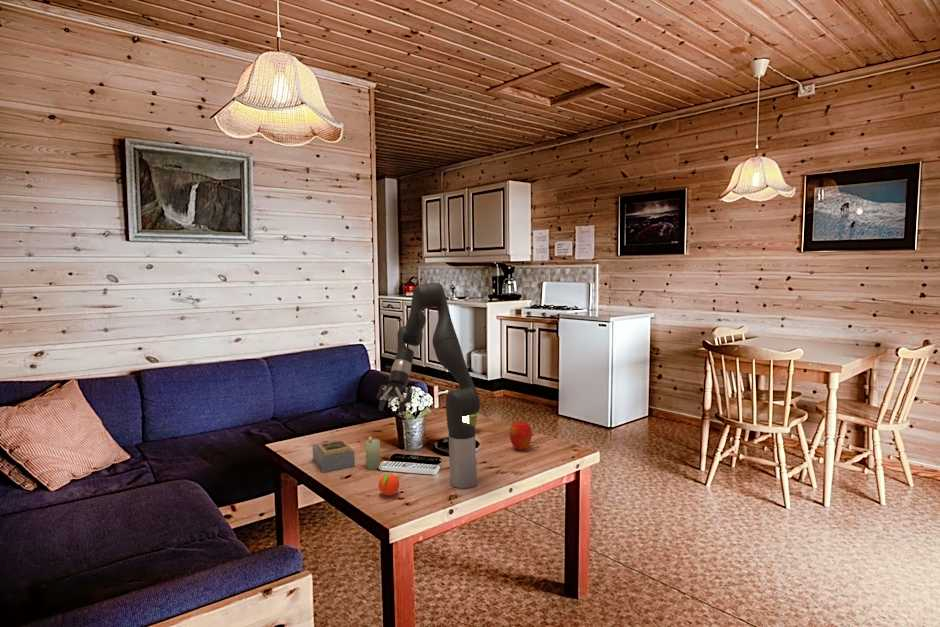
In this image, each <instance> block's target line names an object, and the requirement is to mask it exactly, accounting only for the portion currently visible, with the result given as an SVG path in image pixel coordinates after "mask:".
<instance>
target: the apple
mask: <svg viewBox="0 0 940 627" xmlns="http://www.w3.org/2000/svg"><path fill="white" fill-rule="evenodd" d="M508 432H509V433H508V434H509V439H510V442H511V445H512V446H513V447H514V448H515V449H516V450H518V451H524V450H526V448H528V447H529V445H530V443H531V441H532V437H533V435H532V434H533V431H532V429H531V425H530V424H529V423H528V422H525V421H521V420H520V421H519V420H518V421H515V422H514V423H513V424H511V425H510V428H509V431H508Z"/></svg>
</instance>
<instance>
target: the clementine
mask: <svg viewBox="0 0 940 627" xmlns="http://www.w3.org/2000/svg"><path fill="white" fill-rule="evenodd" d="M399 488H400V480H399V478H398V477H397V476H396V475H395V474H392V473H387V474H384V475H382V476H381V478H379V481H378V489H379V491H380V493H381V494H382V495H385V496H389V497H390V496H393V495H395V494H396V493H397V492H398V491H399Z"/></svg>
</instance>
